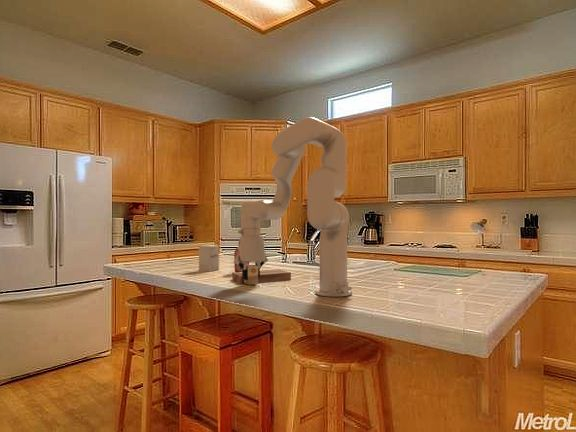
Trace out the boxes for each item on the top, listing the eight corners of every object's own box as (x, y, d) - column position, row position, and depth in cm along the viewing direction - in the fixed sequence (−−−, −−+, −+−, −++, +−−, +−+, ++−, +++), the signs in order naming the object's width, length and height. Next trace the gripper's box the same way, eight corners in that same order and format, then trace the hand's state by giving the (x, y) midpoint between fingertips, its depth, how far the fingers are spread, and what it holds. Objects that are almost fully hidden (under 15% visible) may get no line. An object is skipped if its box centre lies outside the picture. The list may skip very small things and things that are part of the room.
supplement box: (210, 271, 182) (210, 246, 182) (198, 271, 185) (198, 245, 185) (219, 270, 189) (219, 245, 189) (207, 269, 192) (207, 244, 192)
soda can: (231, 273, 176) (231, 248, 176) (238, 271, 182) (238, 247, 182) (245, 274, 173) (245, 248, 174) (251, 272, 180) (251, 247, 180)
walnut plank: (290, 279, 157) (290, 272, 157) (241, 283, 147) (241, 276, 147) (279, 275, 168) (279, 269, 168) (232, 279, 158) (232, 272, 158)
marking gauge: (259, 284, 144) (259, 266, 144) (249, 285, 142) (249, 266, 142) (247, 279, 156) (247, 262, 156) (238, 279, 154) (238, 263, 154)
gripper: (233, 233, 139) (233, 282, 139) (274, 232, 147) (274, 278, 146) (227, 232, 146) (227, 279, 146) (266, 232, 153) (267, 276, 153)
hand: (251, 278), depth 146 cm, fingers closed on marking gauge, 4 cm apart
